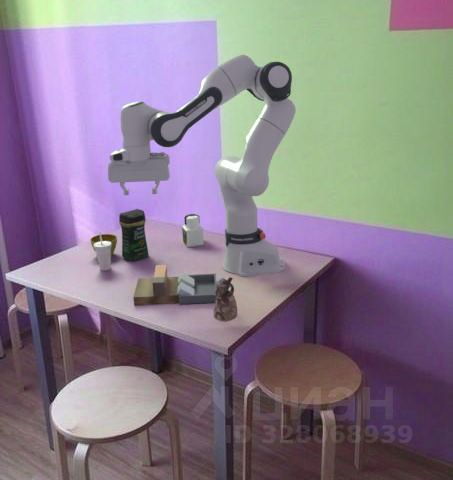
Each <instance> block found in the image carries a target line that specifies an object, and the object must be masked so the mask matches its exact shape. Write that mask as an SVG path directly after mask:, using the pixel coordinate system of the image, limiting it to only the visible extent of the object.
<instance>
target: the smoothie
mask: <svg viewBox="0 0 453 480" xmlns="http://www.w3.org/2000/svg"><path fill="white" fill-rule="evenodd" d="M101 234H102V232H101V231H100V232H99V235H100V242H96V243H95V244H94V248H95V251H96V252H95V251H94V252H95V254H96V259H97V262H98V265H99V269H100V271H105V272H106V271H109V270H111V268H112V267H111V263H112V261H111V259H112V256H111V246H112V244H111V242H109V241H102V236H101Z"/></svg>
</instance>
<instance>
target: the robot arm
mask: <svg viewBox="0 0 453 480" xmlns="http://www.w3.org/2000/svg"><path fill="white" fill-rule="evenodd" d="M292 82H293V74H292V71H291V69H290V67H289V66H288V65H287V64H285V62H284V63H283V62H282V61H271V62H268V63H267V64H265V65H263V66H258V65H257V64H256V63H255V61H254V60H253V59H252V57H249V56H248V55H246V54H239V55H237V56H235V57H233V58H230V59H228V60H226V61H225V62H223V63H222V64H220V65H218V66H217V67H216V68H214V69H213V70H211V71H210V72H209V73H208V74H207V75H206V76H204V78H203V79H202V80H201V83H200V89H199V92H198V94H197V95H196V96H195V97H194V98H193V99H191V100H190V101H189V102H188V103H186V104H185V105H183V106H182V107H181V108H179V109H178V110H176V111H175V112H167V111H165V110H160V109H158V108H154V107H152V106H150V105H149V104H147V103H145V102H144V101H134V102H129V103H127V104H125V105H124V106H122V108H121V110H120V131H121V134H122V135H121V136H122V137H123V138H122V139H123V140H122V148H120V149H117V150H115V151H113V152H111V153H110V155H109V161H110V162H109V163H108V167H107V180H108V182H110V183H111V184H113V183H119V186H120V188H121V189H122V191H123V195H124V196H130V190H129V188H126V186H125V183H138V182H140V183H141V182H143V183H144V182H154V184H155V186H154V187H152V188H151V191H152V195H157V194H158V187H159V185H160V182H161V181H164V182H165V181H167V182H168V181H169V179H170V176H171V174H170V173H171V172H170V168H169V165H170V162H171V161H170V155H169V154H167V153H165V152H161V151H160V152H152V151H151V141H154V142H155V143H156V144H157V145H159V146H160V147H163V148H172V147H175V146H177V145H178V144H179V143H181V141H182V140H183V138H184V136H185V135H186V134H187V132H188V130H189V129H191V127H192V126H193V127H194V125H195V124H197V123H198V122H199V121H200V120H202V119H203V118H204V117H206V116H207V115H208V114H210V112H212V111H214V110H216V109H217V108H218V107H220V106H222V105H224V104H225V103H227V102H229V101H230V100H232V99H234V98H235V97H236V96H239V94H240V93H242V92H244V91H245V90H246V91H248V92H249V94H251V95H252V97H254V98H256V99H257V100H258V101H261V102H264V103H263V108H262V110H261V112H260V113H259V115H258V116H257V118H256V119H255V121H254V123H253V124H252V126H251V128H250V129H249V131H248V132H247V134H246V136H245V137H244V138H245V139H244V142H245V146H244V147H245V148H244V150H243V153H242V155H241V158H240V157H237V156H226V157H221V159H219V160H218V161H217V163H216V164H215V166H214V167H215V168H214V175H215V178H216V180H217V181H218V184H219V188H220V191H221V195H222V200H223V204H224V205H223V206H224V211H225V229H224V244H225V255H224V259H223V264H222V268H223V269H224V270H225V271H226V272H228V273H232V274H236V275H238V276H240V277H244V278H245V277H253V276H260V275H268V274H276V273H282V272H284V271H285V270H286V263H285V260H284V258H282V257H281V256H280V254H279V251H278V249H277V247H276V246H275V245H274V244H272V242H270V241H268V240H266V233H265V232H264V230H262V228H261V227H259V228H258V206H257V204H256V203H255V200H254V198H253V197H259V196H261V195H263V193H265V191H266V190H267V189H268V188H269V183H270V177H269V170H270V165H271V161H272V159H273V157H274V154H275V153H276V151H277V149H278V147H279V145H280V144H281V142H282V141H283V139H284V137H285V136H286V134H287V132H288V131H289V128H290V127H291V124H292V122H293V120H294V118H295V115H296V112H297V109H296V105H295V104H294V102H293V101H292V100H291V99H290V98H289V97H290V96H291V94H292V91H291V89H292Z"/></svg>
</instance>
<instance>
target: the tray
mask: <svg viewBox="0 0 453 480" xmlns="http://www.w3.org/2000/svg"><path fill="white" fill-rule="evenodd" d="M187 275H188V276H190V277H191V278H193V279H195V280H194V287H193V289H194V295H182V296H181V295H180V296H179V304H178V306H188V305H191V306H192V305H194V306H195V305H207V304H208V305H210V304H214V305H215V299H216V296H215V295H214V293H215V292H216V288H217V273H203V274H202V273H199V274H187Z"/></svg>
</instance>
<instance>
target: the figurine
mask: <svg viewBox="0 0 453 480" xmlns="http://www.w3.org/2000/svg"><path fill="white" fill-rule="evenodd" d="M232 280H233V277H231V276H229V277H228V279H227V278H225V277H223V278H220V279H219V280H218V281H216V283H217V288H216V292H215V293H214V295H215V296H216V299H215V303H214V307H213V318H214V319H215V320H216V321H221V322H229V321H233V320H235V318H237V315H238V305H237V300H236V297H235V295H234V293H235V287H234V285H233V284H232V283H231V282H232ZM229 288H230V290H229Z"/></svg>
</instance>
